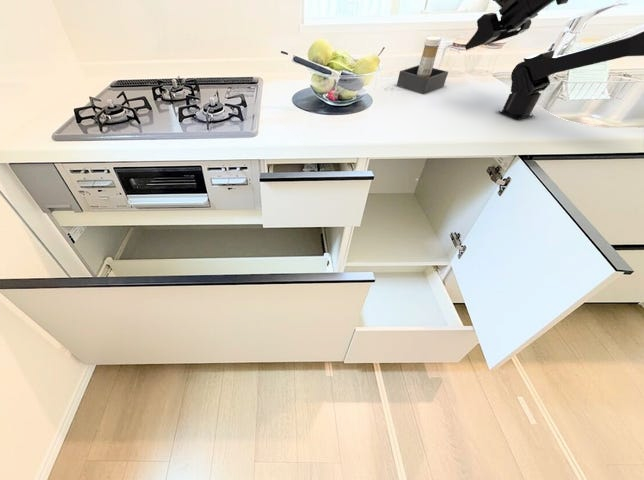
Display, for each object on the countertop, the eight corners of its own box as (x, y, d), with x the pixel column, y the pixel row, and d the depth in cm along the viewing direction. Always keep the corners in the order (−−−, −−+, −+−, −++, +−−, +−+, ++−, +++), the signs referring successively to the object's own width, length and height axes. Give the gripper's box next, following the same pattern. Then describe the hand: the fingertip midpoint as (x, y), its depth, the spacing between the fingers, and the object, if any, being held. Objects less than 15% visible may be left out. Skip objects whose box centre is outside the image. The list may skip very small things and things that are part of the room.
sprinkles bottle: (428, 83, 113) (441, 36, 103) (427, 87, 110) (441, 39, 101) (414, 82, 115) (426, 35, 105) (413, 86, 112) (425, 38, 102)
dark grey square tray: (443, 86, 112) (448, 71, 109) (423, 94, 108) (428, 78, 104) (416, 78, 118) (420, 64, 115) (396, 85, 114) (399, 71, 111)
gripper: (544, -34, 84) (485, 14, 99) (502, -28, 78) (445, 22, 92) (556, 9, 85) (497, 50, 100) (516, 18, 79) (459, 61, 93)
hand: (475, 45), depth 96 cm, fingers open, 9 cm apart
